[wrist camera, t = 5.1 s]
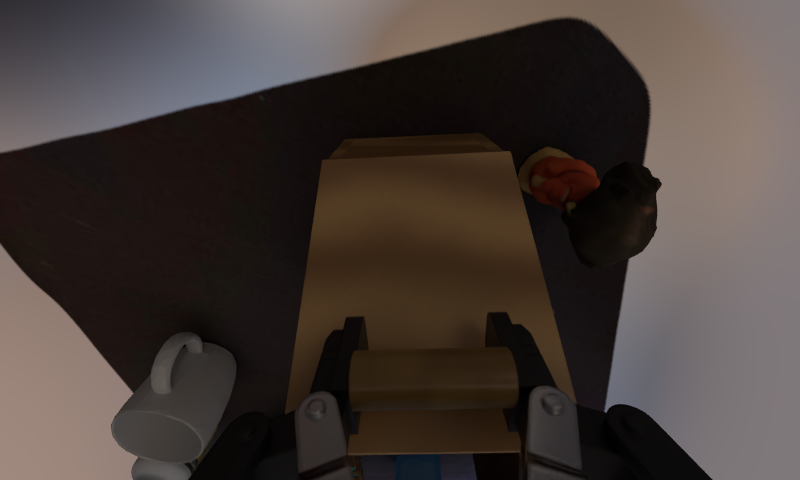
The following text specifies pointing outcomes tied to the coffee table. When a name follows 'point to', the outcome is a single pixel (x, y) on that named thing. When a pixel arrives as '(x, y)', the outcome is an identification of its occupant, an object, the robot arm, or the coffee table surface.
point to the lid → (424, 299)
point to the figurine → (595, 204)
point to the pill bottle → (165, 469)
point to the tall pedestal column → (496, 466)
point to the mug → (177, 402)
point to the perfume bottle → (418, 467)
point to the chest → (414, 146)
